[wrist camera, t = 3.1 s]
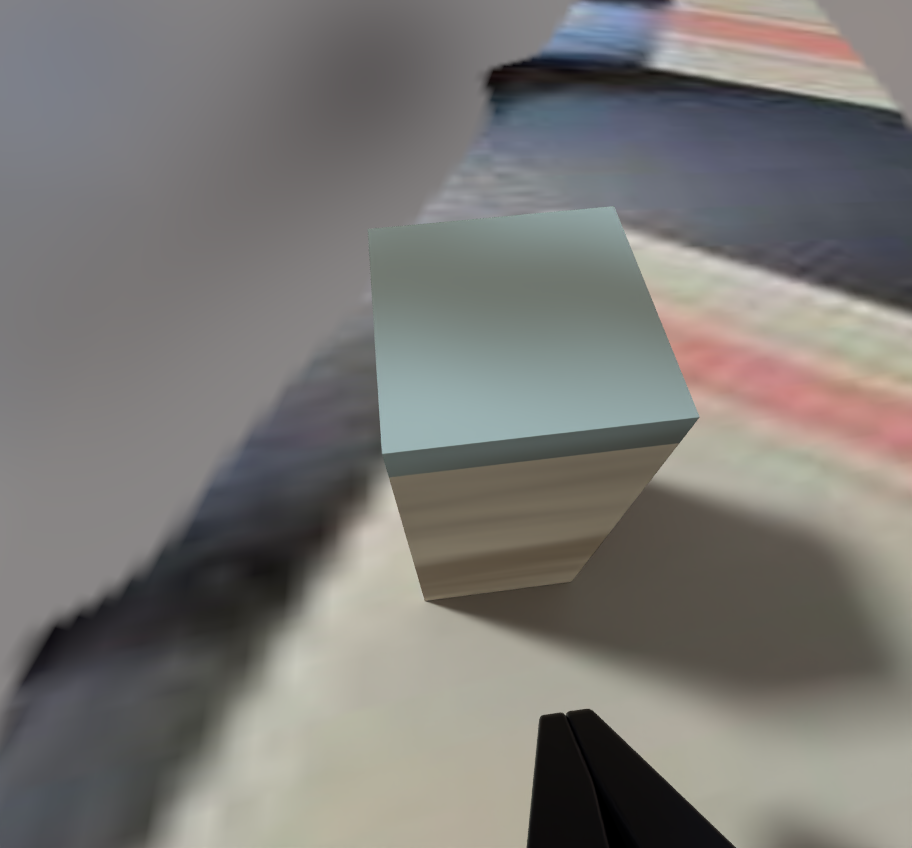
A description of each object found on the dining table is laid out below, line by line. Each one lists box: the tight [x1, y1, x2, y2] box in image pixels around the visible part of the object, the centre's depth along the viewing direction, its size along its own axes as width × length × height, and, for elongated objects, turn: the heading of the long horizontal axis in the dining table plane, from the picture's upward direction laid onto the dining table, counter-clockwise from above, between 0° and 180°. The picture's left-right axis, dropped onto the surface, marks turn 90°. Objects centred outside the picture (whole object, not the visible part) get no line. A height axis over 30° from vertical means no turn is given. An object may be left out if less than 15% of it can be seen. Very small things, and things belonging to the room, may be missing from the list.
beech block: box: [368, 206, 699, 601], centre depth 13 cm, size 4×4×10 cm
